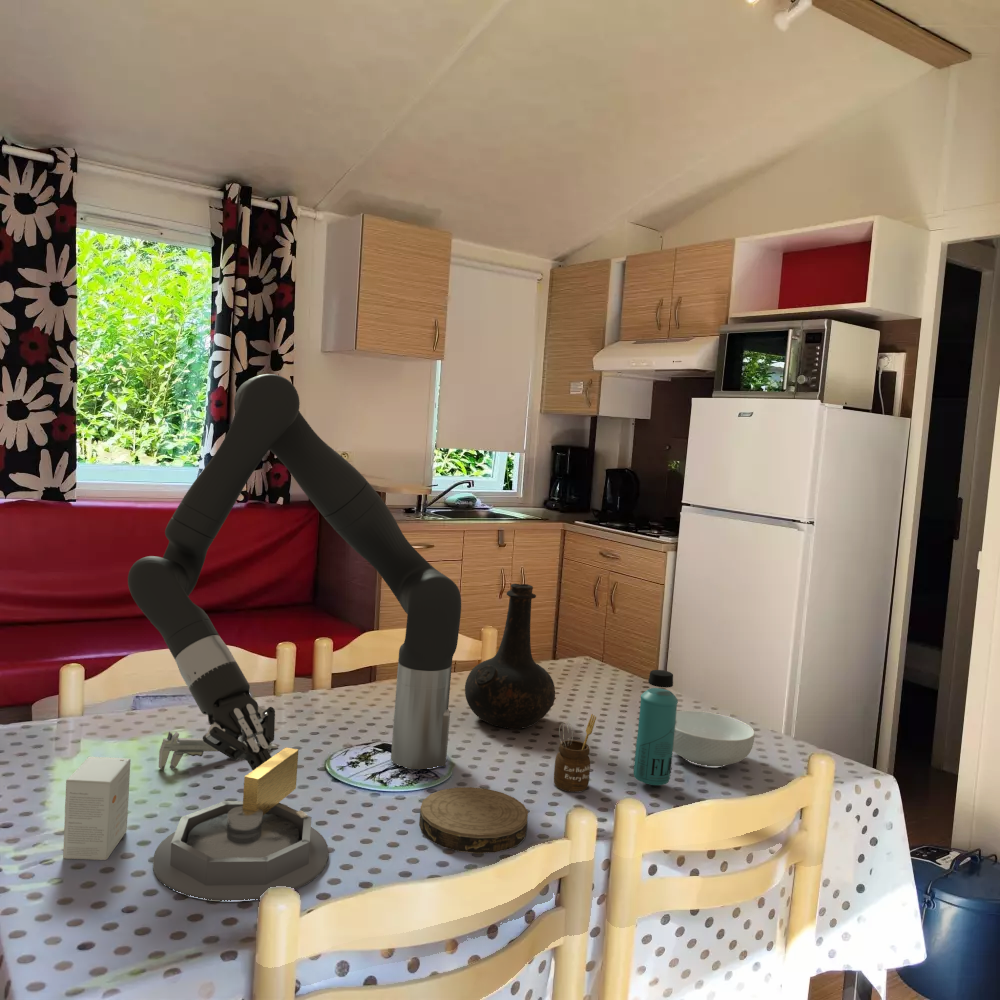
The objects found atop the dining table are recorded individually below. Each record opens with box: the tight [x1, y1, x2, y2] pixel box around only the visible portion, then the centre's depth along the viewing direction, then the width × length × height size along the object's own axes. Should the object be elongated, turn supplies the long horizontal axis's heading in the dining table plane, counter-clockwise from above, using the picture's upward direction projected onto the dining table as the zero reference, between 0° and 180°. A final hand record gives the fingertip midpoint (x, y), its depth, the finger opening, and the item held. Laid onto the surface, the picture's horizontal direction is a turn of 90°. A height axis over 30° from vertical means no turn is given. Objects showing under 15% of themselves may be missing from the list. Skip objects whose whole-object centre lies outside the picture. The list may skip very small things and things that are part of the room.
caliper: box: [158, 731, 279, 772], centre depth 148 cm, size 20×1×6 cm, turn 132°
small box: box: [62, 756, 131, 861], centre depth 117 cm, size 8×6×10 cm
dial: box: [187, 747, 299, 858], centre depth 119 cm, size 20×14×9 cm
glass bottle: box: [464, 583, 556, 730], centre depth 178 cm, size 18×18×28 cm
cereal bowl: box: [672, 710, 756, 766], centre depth 167 cm, size 17×17×7 cm
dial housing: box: [152, 800, 329, 901], centre depth 117 cm, size 22×22×4 cm
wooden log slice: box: [418, 786, 529, 854], centre depth 131 cm, size 16×16×3 cm
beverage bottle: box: [633, 669, 679, 786], centre depth 151 cm, size 6×7×20 cm
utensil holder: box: [553, 713, 597, 793], centre depth 149 cm, size 6×6×12 cm
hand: (270, 777), depth 126 cm, fingers closed
